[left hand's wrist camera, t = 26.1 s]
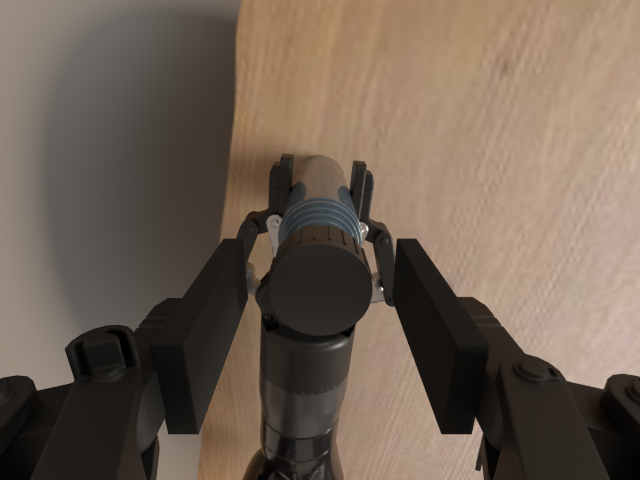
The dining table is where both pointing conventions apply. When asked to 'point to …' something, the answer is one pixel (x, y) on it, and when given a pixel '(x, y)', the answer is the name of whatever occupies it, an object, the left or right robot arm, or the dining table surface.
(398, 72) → the dining table surface
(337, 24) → the dining table surface
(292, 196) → the bottle
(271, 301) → the cap
